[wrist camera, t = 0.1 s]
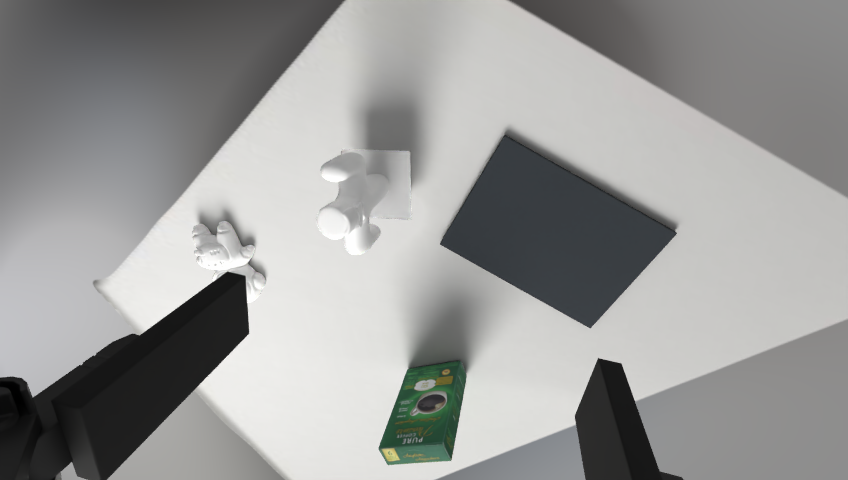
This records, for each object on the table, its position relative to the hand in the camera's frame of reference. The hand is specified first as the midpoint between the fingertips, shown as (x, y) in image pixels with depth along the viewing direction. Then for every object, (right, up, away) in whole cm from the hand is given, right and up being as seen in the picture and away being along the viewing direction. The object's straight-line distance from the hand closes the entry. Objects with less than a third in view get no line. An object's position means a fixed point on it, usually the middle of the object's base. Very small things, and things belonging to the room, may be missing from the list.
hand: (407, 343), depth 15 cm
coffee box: (+2, -14, +40) cm, 43 cm away
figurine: (-4, +11, +31) cm, 33 cm away
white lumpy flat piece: (-25, +1, +40) cm, 47 cm away
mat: (+14, +4, +29) cm, 33 cm away
